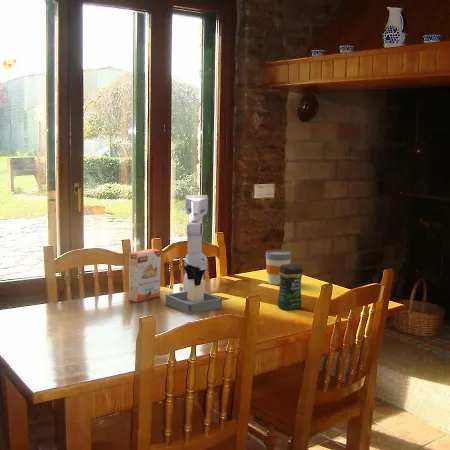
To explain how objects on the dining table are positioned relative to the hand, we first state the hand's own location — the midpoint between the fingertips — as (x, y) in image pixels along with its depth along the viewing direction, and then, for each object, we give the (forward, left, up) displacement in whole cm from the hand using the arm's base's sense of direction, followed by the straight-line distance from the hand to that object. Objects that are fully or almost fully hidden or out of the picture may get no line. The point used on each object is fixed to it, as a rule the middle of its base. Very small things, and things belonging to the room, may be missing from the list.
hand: (194, 283), depth 248 cm
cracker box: (-21, -11, -10) cm, 26 cm away
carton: (0, +1, -7) cm, 7 cm away
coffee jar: (+24, +32, -10) cm, 41 cm away
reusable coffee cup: (-11, +57, -10) cm, 59 cm away
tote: (0, 0, -9) cm, 9 cm away
